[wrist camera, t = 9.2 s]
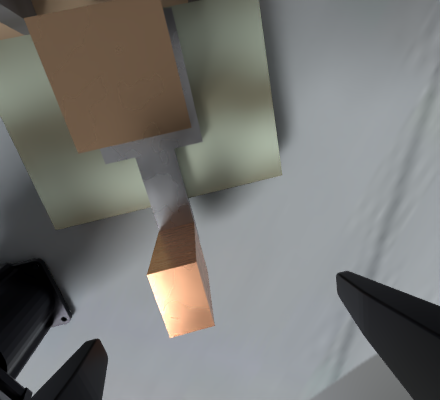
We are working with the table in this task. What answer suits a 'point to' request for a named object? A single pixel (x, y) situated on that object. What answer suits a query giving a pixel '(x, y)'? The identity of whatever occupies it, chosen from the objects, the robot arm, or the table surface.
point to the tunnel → (187, 155)
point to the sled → (135, 127)
